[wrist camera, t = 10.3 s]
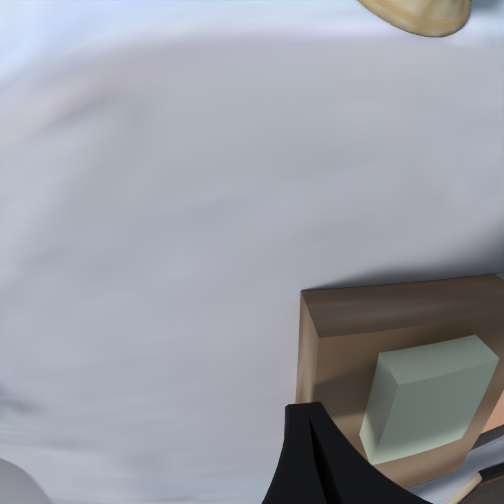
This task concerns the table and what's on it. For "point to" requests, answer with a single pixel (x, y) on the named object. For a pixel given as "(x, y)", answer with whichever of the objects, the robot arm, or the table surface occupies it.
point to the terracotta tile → (496, 415)
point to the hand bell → (422, 15)
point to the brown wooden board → (389, 339)
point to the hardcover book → (483, 488)
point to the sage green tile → (425, 397)
